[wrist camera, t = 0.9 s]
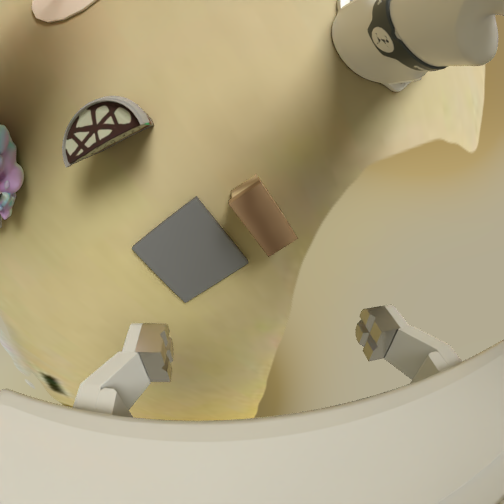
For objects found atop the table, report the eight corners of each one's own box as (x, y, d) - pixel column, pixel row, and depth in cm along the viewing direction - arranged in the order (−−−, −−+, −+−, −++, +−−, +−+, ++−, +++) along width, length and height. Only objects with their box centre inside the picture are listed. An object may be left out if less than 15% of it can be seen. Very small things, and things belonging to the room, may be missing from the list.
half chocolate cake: (150, 84, 31) (128, 76, 22) (163, 120, 34) (145, 122, 25) (81, 122, 32) (47, 127, 23) (94, 155, 35) (63, 169, 26)
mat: (196, 196, 40) (195, 198, 39) (247, 260, 46) (248, 263, 46) (133, 245, 43) (131, 248, 42) (185, 299, 49) (185, 302, 48)
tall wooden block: (252, 168, 39) (260, 182, 31) (283, 214, 43) (297, 238, 35) (227, 185, 40) (228, 204, 32) (259, 229, 44) (268, 256, 36)
